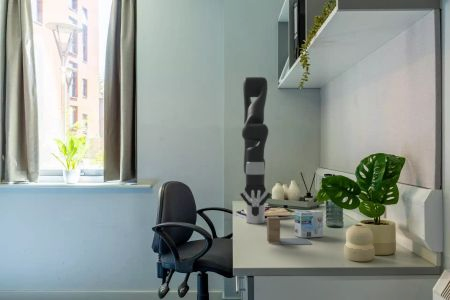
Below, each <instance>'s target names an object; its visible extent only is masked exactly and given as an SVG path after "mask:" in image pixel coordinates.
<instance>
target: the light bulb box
mask: <svg viewBox="0 0 450 300" xmlns="http://www.w3.org/2000/svg"><path fill="white" fill-rule="evenodd" d="M294 235H295V236H296V237H297V238H306V239H308V238H322V237H324V211H321V210H318V209H310V210H295V211H294Z"/></svg>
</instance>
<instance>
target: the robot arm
mask: <svg viewBox="0 0 450 300" xmlns="http://www.w3.org/2000/svg"><path fill="white" fill-rule="evenodd" d="M267 80H268V79H267V78H266V77H263V76H259V77H258V76H249V77H248V76H247V77H245V78H244V79H243V83H242V86H243V87H242V90H243V91H242V93H243V107H244V110H243V111H244V112H243V113H244V117H243V119H244V121H243V127H242V130H241V136H242V138H243V140H244V148H243V149H244V150H243V151H244V153H243V172H244V174H245V188H244V190H243V191H241V192H239V196H240V197H241V198H242V199H243V201H244V202H245V203H246V218H245V219H246V223H247V224H255V225H258V224H260V225H261V224H264V223H265V216H266V215H265V213H266V211H265V209H266V208H265V207H266V205H265V203H266V202H267V200H268V199H270V197H271V194H272V193H270V192H268V191H267V189H266V186H265V176H266V175H265V174H266V159H265V147H266V143H267V139H268V136H269V127H268V126H267V124H265V123H264V122H265V107H266V102H267V94H268V81H267ZM252 98H256V99H254V100H253V102H252Z"/></svg>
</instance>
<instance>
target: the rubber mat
mask: <svg viewBox="0 0 450 300" xmlns="http://www.w3.org/2000/svg"><path fill="white" fill-rule="evenodd" d="M279 244H281V246H295V245H296V246H299V245H301V246H303V245H310V246H311V245H313V243H312V242H311V241H309V239H308V238H301V237H285V238H283V237H282V238H281V237H280V243H279Z"/></svg>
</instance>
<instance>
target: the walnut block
mask: <svg viewBox="0 0 450 300" xmlns="http://www.w3.org/2000/svg"><path fill="white" fill-rule="evenodd" d="M280 238H281V218H280V217H279V216H267V217H266V241H267V243H268V244H281V243H280Z"/></svg>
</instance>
